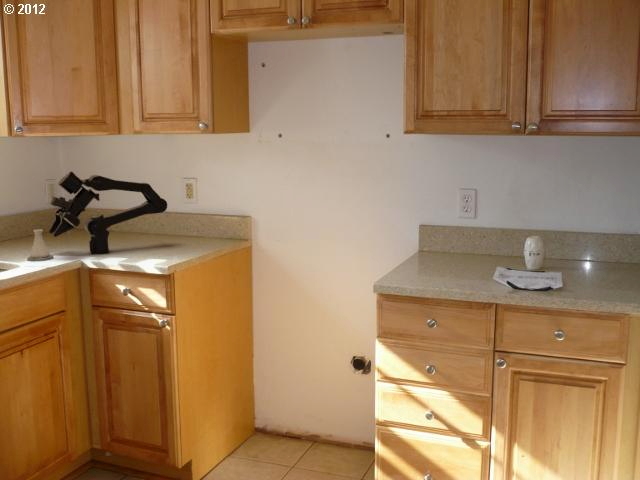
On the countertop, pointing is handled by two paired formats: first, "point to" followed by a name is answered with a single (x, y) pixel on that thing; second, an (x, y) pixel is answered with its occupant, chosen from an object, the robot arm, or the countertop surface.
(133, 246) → the countertop surface
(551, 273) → the countertop surface
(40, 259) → the slate coaster
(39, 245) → the flask
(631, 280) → the countertop surface
